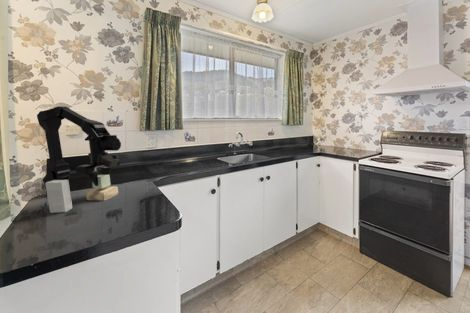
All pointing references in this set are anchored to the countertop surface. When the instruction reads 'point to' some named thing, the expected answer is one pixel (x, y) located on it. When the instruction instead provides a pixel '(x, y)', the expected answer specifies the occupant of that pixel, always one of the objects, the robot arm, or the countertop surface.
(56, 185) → the skincare box
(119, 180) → the countertop surface
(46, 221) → the countertop surface
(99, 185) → the sage cube
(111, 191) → the maple block
